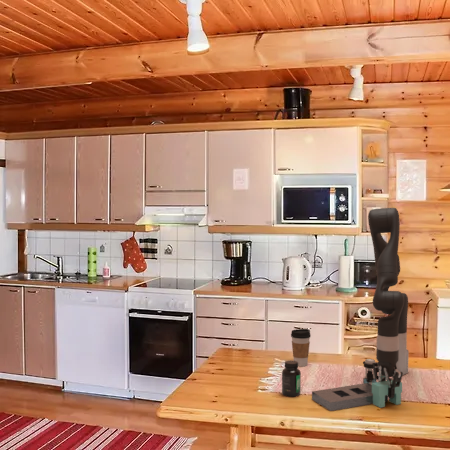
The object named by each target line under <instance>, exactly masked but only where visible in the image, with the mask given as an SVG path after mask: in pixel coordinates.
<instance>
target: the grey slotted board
mask: <svg viewBox="0 0 450 450" xmlns="http://www.w3.org/2000/svg"><path fill="white" fill-rule="evenodd" d="M311 400H312V401H314V403H317V404H319V405H320V406H322V407H323V408H324V409H326V410H328V411H329V412H333V411H338V410H345V409H351V408H355V407H357V408H358V407H362V406H369V405H374V404H373V393H372V385H370V384H368V383H364V384H363V383H359V384H357V383H356V384H351V385H345V386H340V387H339V386H337V387H331V388H327V389H326V388H325V389H318V390H313V391H311ZM386 402H389V398H388V395H385V403H386Z"/></svg>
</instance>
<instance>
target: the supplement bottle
mask: <svg viewBox="0 0 450 450" xmlns="http://www.w3.org/2000/svg"><path fill="white" fill-rule="evenodd" d="M301 374H302V373H301V370H300V369H299V366H298V362H297V361H294V360H285V362H284V368H283V369H282V370H281V394H282V395H283V396H285V397H286V398H287V397H288V398H296V396H297V397H299V396H300V395H301V387H302V386H301V385H302V384H301V383H302V382H301V381H302V379H301V376H302V375H301Z"/></svg>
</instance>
